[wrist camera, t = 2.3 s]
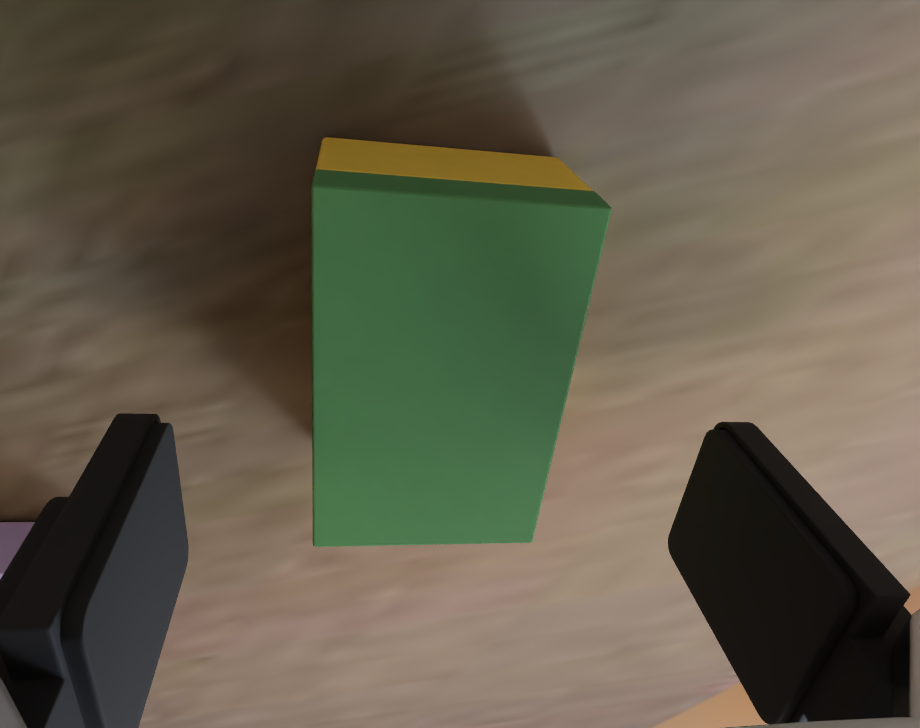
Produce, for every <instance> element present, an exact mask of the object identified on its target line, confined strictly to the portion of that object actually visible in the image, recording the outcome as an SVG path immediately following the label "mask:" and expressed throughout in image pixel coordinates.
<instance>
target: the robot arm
mask: <svg viewBox="0 0 920 728" xmlns="http://www.w3.org/2000/svg"><path fill="white" fill-rule="evenodd" d="M668 548H669V552H670V555H671V557H672V559H673V561H674V562H675V564H676V566H677V568H678V570H679V571H680V573H681V575H682V577H683V579H684V580H685V582H686V584H687V586H688V588H689V589H690V591H691V593H692V595H693V597H694V599H695V600H696V602H697V604H698V606H699V608H700V609H701V611H702V613H703V615H704V617H705V618H706V620H707V622H708V624H709V626H710V627H711V629H712V631H713V633H714V635H715V636H716V638H717V640H718V642H719V644H720V645H721V647H722V649H723V651H724V653H725V655H726V656H727V658H728V660H729V662H730V664H731V665H732V667H733V669H734V671H735V673H736V674H737V676H738V678H739V680H740V682H741V683H742V685H743V687H744V689H745V690H746V692H747V694H748V696H749V698H750V700H751V701H752V703H753V705H754V707H755V709H756V710H757V712H758V714H759V716H760V717H761V719H762V720H763V721H764V722H765V723H767V724H769V725H756V726H741V727H727V728H920V609H919V610H918V611H916V612H915V613H913V614H912V615H911V614H910V613H909V612H908V611H907V609H906V608H905V607H904V606H903V605H904V604H905V602H906V601H907V599H908V598H909V596H910V594H909V592H908V591H907V590H906V589H905V588H904V587H903V586H902V585H901V584H900V583H899V581H898V580H897V579H896V578H895V577H894V576H893V575H892V574H891V573H890V572H889V571H888V569H887V568H886V567H885V566H884V565H883V564H882V563H881V562H880V561H879V560H878V559H877V557H876V556H875V555H874V554H873V553H872V552H871V551H870V550H869V549H868V548H867V547H866V545H865V544H864V543H863V542H862V541H861V540H860V539H859V538H858V537H857V536H856V535H855V533H854V532H853V531H852V530H851V529H850V528H849V527H848V526H847V525H846V524H845V522H844V521H843V520H842V519H841V518H840V517H839V516H838V515H837V514H836V513H835V512H834V510H833V509H832V508H831V507H830V506H829V505H828V504H827V503H826V502H825V501H824V500H823V498H822V497H821V496H820V495H819V494H818V493H817V492H816V491H815V490H814V489H813V488H812V486H811V485H810V484H809V483H808V482H807V481H806V480H805V479H804V478H803V477H802V475H801V474H800V473H799V472H798V471H797V470H796V469H795V468H794V467H793V466H792V465H791V463H790V462H789V461H788V460H787V459H786V458H785V457H784V456H783V455H782V454H781V453H780V451H779V450H778V449H777V448H776V447H775V446H774V445H773V444H772V443H771V442H770V441H769V439H768V438H767V437H766V436H765V435H764V434H763V433H762V432H761V431H760V430H759V429H758V427H757V426H755V425H754V424H753V423H749V422H721V423H718V424H717V425H716V426H715V427H714V429H713V430H709V431H708V432H707V433H706V435H705V437H704V440H703V443H702V446H701V448H700V451H699V454H698V457H697V459H696V462H695V465H694V468H693V470H692V473H691V476H690V479H689V481H688V484H687V487H686V490H685V492H684V495H683V498H682V501H681V503H680V506H679V509H678V512H677V514H676V517H675V520H674V523H673V525H672V528H671V531H670V534H669V537H668ZM187 561H188V539H187V531H186V524H185V516H184V508H183V501H182V493H181V486H180V478H179V470H178V463H177V455H176V448H175V440H174V433H173V427H172V425H171V424H170V423H161V421H160V418H159V416H158V415H157V414H117V415H116V417H115V418H114V420H113V421H112V423H111V425H110V427H109V428H108V430H107V432H106V434H105V435H104V437H103V439H102V441H101V442H100V444H99V446H98V447H97V449H96V451H95V453H94V454H93V456H92V458H91V460H90V461H89V463H88V465H87V467H86V468H85V470H84V472H83V474H82V475H81V477H80V479H79V481H78V482H77V484H76V486H75V488H74V489H73V491H72V493H71V495H70V496H69V497H55V498H53V499H52V500H50V501H49V502H48V503H47V505H46V506H45V507H44V508H43V510H42V512H41V513H40V515H39V517H38V518H37V520H36V521H35V523H34V525H33V526H32V528H31V530H30V531H29V533H28V535H27V536H26V538H25V539H24V541H23V543H22V544H21V546H20V548H19V549H18V551H17V553H16V554H15V556H14V558H13V559H12V561H11V562H10V564H9V566H8V567H7V569H6V571H5V572H4V574H3V576H2V577H1V579H0V728H138V727H139V723H140V720H141V717H142V713H143V710H144V707H145V703H146V700H147V697H148V693H149V690H150V687H151V683H152V680H153V677H154V673H155V670H156V667H157V663H158V660H159V657H160V653H161V650H162V647H163V643H164V640H165V637H166V633H167V630H168V627H169V623H170V620H171V617H172V613H173V610H174V607H175V603H176V600H177V597H178V593H179V590H180V587H181V583H182V580H183V577H184V573H185V570H186V566H187Z"/></svg>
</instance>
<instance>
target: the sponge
mask: <svg viewBox="0 0 920 728" xmlns="http://www.w3.org/2000/svg"><path fill="white" fill-rule="evenodd" d="M611 210H612V209H611V207H610V206H609V205H608V204H607V203H606V202H605V201H604V200H603V199H602V198H601V197H600V196H599V195H598V194H597V193H595V192H594V191H592V190H591V189H590V188H589V187H588V186H587V185H586V184H585V183H584V182H583V181H582V180H581V179H580V178H578V177H577V176H576V175H575V174H574V173H573V172H572V171H571V170H570V169H569V168H568V167H567V166H566V165H565V164H564V163H563V162H562V161H561V160H560V159H558V158H556V157H546V156H535V155H523V154H512V153H501V152H489V151H478V150H466V149H455V148H444V147H432V146H421V145H409V144H398V143H387V142H375V141H364V140H352V139H341V138H330V137H326V138H323V140H322V144H321V148H320V153H319V157H318V162H317V166H316V170H315V173H314V178H313V182H312V186H311V225H312V448H313V545H314V546H315V547H328V546H379V545H430V544H481V543H531V542H532V540H533V536H534V532H535V528H536V524H537V519H538V515H539V511H540V507H541V503H542V498H543V494H544V490H545V486H546V482H547V478H548V473H549V469H550V465H551V461H552V457H553V452H554V448H555V444H556V440H557V436H558V432H559V427H560V423H561V419H562V415H563V411H564V406H565V402H566V398H567V394H568V390H569V385H570V381H571V377H572V373H573V369H574V365H575V360H576V356H577V352H578V348H579V344H580V339H581V335H582V331H583V327H584V323H585V319H586V314H587V310H588V306H589V302H590V298H591V293H592V289H593V285H594V281H595V277H596V273H597V268H598V264H599V260H600V256H601V252H602V247H603V243H604V239H605V235H606V231H607V226H608V222H609V218H610V214H611Z"/></svg>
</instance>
